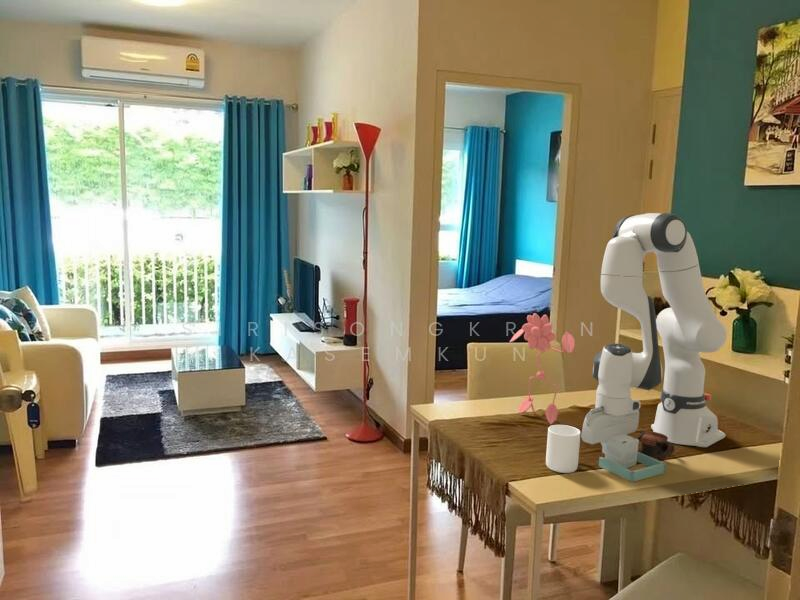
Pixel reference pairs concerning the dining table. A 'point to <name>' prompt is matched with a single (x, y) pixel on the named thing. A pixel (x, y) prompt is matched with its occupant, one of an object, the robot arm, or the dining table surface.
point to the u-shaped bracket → (652, 470)
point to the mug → (562, 448)
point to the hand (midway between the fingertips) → (607, 452)
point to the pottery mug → (655, 445)
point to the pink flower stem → (540, 339)
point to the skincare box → (622, 450)
